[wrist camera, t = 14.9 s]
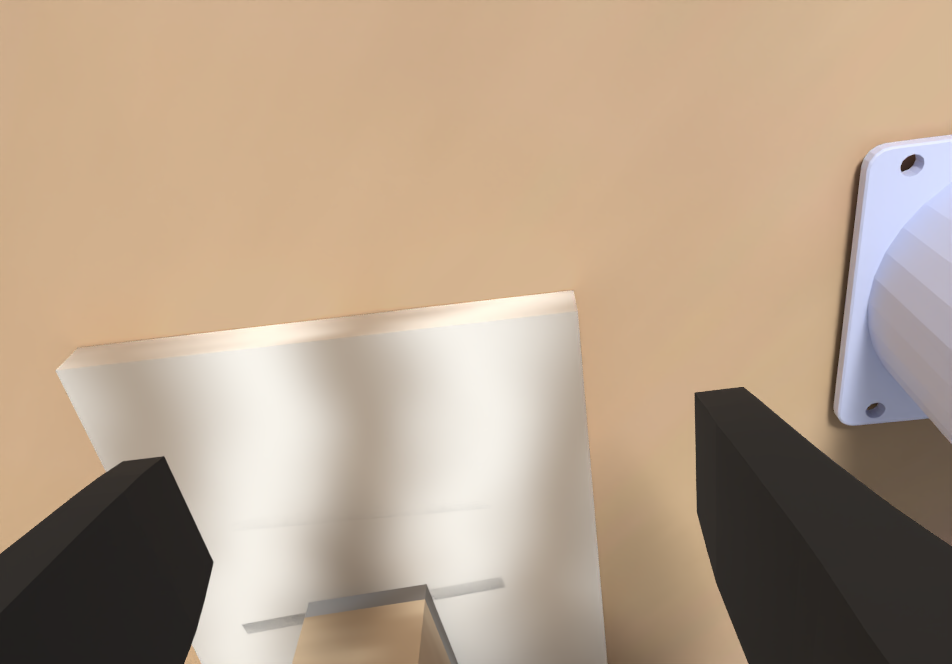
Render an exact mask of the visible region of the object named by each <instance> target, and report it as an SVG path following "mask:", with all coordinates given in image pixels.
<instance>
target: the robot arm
mask: <svg viewBox="0 0 952 664" xmlns="http://www.w3.org/2000/svg"><path fill="white" fill-rule="evenodd" d="M913 154H915V156H916V160H915V162H914V165H913V166H912V167H911V168H909V169H908V170H905V171H903V172H902V171H901V169H900V166H901V164H902V162H903V160H904V159H905V158H907V157H908V156H910V155H913ZM874 403H878V405H877V406H876V407H874V408H873V409H870V410H866V409H867V407H869V406H870V405H871V404H874ZM833 407H834V413H835V414H836V416H837V417H838V419H839V420H840V421H841V422H842V423H844V424H846V425H852V426H856V425H866V424H877V423H887V422H898V421H908V420H918V419H930V420H931V421H932V422H933V423H934V425H935V426H936V427H937V428H938V429H939V430H940V431H941V433H942V434H943V435H944V436H945V437H946V438H947V440H948V441H949V442H950V443H951V444H952V135H944V136H937V137H929V138H921V139H913V140H906V141H898V142H890V143H884V144H881V145H878V146H876V147H875V148H873V149H872V150H870V151H869V152H868V154H867V155H866V156H865V158H864V159H863V163H862V166H861V173H860V181H859V190H858V199H857V207H856V216H855V224H854V233H853V242H852V250H851V259H850V268H849V276H848V285H847V294H846V302H845V311H844V320H843V328H842V337H841V346H840V354H839V363H838V372H837V380H836V389H835V398H834V406H833ZM695 437H696V490H697V514H698V518H699V522H700V525H701V529H702V533H703V537H704V540H705V544H706V548H707V552H708V555H709V559H710V562H711V566H712V569H713V573H714V576H715V580H716V583H717V586H718V588H719V591H720V594H721V596H722V599H723V601H724V604H725V606H726V609H727V611H728V614H729V616H730V619H731V621H732V624H733V626H734V629H735V631H736V634H737V636H738V639H739V641H740V644H741V646H742V649H743V651H744V653H745V656H746V658H747V661H748V663H749V664H952V546H950V545H949V544H947V543H946V542H944V541H943V540H941V539H940V538H938V537H937V536H935V535H934V534H933V533H931V532H930V531H928V530H927V529H925V528H924V527H922V526H921V525H919V524H918V523H916V522H915V521H914V520H912V519H911V518H909V517H908V516H906V515H905V514H903V513H902V512H900V511H899V510H897V509H896V508H895V507H893V506H892V505H891V504H889V503H888V502H886V501H885V500H884V499H882V498H881V497H880V496H878V495H877V494H876V493H874V492H873V491H872V490H870V489H869V488H868V487H867V486H865V485H864V484H863V483H861V482H860V481H859V480H857V479H856V478H855V477H853V476H852V475H851V474H850V473H848V472H847V471H846V470H844V469H843V468H842V467H840V466H839V465H838V464H836V463H835V462H834V461H833V460H831V459H830V458H829V457H828V456H826V455H825V454H824V453H823V452H821V451H820V450H819V449H818V448H816V447H815V446H814V445H813V444H812V443H810V442H809V441H808V440H807V439H806V438H804V437H803V436H802V435H801V434H799V433H798V432H797V431H796V430H795V429H793V428H792V427H791V426H790V425H789V424H787V423H786V422H785V421H784V420H783V419H781V418H780V417H779V416H778V415H777V414H776V413H774V412H773V411H772V410H771V409H770V408H768V407H767V406H766V405H765V404H764V403H762V402H761V401H760V400H759V399H758V398H756V397H755V396H754V395H753V394H751V393H750V392H749V391H748V390H747V389H745V388H744V387H738V388H730V389H721V390H713V391H705V392H696V393H695ZM213 563H214V562H213V560H212V557H211V555H210V553H209V551H208V549H207V547H206V545H205V542H204V540H203V538H202V536H201V534H200V532H199V530H198V527H197V525H196V523H195V521H194V519H193V517H192V515H191V512H190V510H189V508H188V506H187V504H186V502H185V500H184V497H183V495H182V493H181V491H180V489H179V487H178V485H177V482H176V480H175V478H174V476H173V474H172V472H171V470H170V467H169V465H168V463H167V461H166V459H165V457H164V456H162V457H153V458H145V459H137V460H128V461H122V462H121V463H119V464H118V465H116V466H115V467H113V468H112V469H110V470H109V471H107V472H106V473H104V474H103V475H102V476H100V477H99V478H97V479H96V480H95V481H93V482H92V483H91V484H89V485H88V486H87V487H85V488H84V489H83V490H81V491H80V492H79V493H77V494H76V495H75V496H73V497H72V498H71V499H70V500H68V501H67V502H66V503H64V504H63V505H62V506H61V507H59V508H58V509H57V510H55V511H54V512H53V513H52V514H50V515H49V516H48V517H47V518H45V519H44V520H43V521H42V522H40V523H39V524H38V525H36V526H35V527H34V528H33V529H31V530H30V531H29V532H28V533H26V534H25V535H24V536H22V537H21V538H20V539H19V540H17V541H16V542H15V543H14V544H12V545H11V546H10V547H8V548H7V549H6V550H5V551H3V552H2V553H1V554H0V664H184V662H185V660H186V657H187V655H188V652H189V650H190V647H191V644H192V642H193V639H194V636H195V634H196V631H197V627H198V623H199V620H200V616H201V612H202V609H203V605H204V602H205V598H206V593H207V589H208V585H209V580H210V576H211V572H212V568H213Z"/></svg>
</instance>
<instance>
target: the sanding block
mask: <svg viewBox="0 0 952 664" xmlns="http://www.w3.org/2000/svg"><path fill="white" fill-rule="evenodd" d="M292 664H458V662H457V660H456V657H455V654H454V652H453V649H452V647H451V644H450V642H449V639H448V637H447V634H446V632H445V629H444V627H443V624H442V622H441V619H440V617H439V614H438V612H437V609H436V607H435V604H434V602H433V599H432V596H431V594H430V591H429V589H428V586H427V584H424V585H417V586H411V587H405V588H398V589H392V590H385V591H379V592H373V593H366V594H360V595H354V596H347V597H341V598H334V599H328V600H322V601H315V602H309V604H308V607H307V611H306V614H305V618H304V622H303V625H302V629H301V633H300V636H299V640H298V643H297V647H296V651H295V654H294V658H293V662H292Z"/></svg>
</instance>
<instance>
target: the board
mask: <svg viewBox="0 0 952 664" xmlns="http://www.w3.org/2000/svg"><path fill="white" fill-rule="evenodd" d="M56 372H57V374H58V376H59V378H60V380H61V382H62V384H63V386H64V388H65V390H66V392H67V394H68V396H69V398H70V400H71V402H72V404H73V406H74V408H75V410H76V412H77V415H78V417H79V419H80V421H81V423H82V425H83V427H84V429H85V431H86V433H87V435H88V437H89V439H90V441H91V443H92V445H93V447H94V449H95V451H96V453H97V455H98V457H99V459H100V461H101V463H102V465H103V467H104V469H105V471H106V472H107V471H109V470H110V469H112V468H113V467H115V466H116V465H118V464H119V463H121V462H122V461H128V460H137V459H145V458H153V457H162V456H164V457H165V459H166V461H167V463H168V465H169V467H170V470H171V472H172V474H173V476H174V478H175V480H176V482H177V485H178V487H179V489H180V491H181V493H182V495H183V497H184V500H185V502H186V504H187V506H188V508H189V510H190V512H191V515H192V517H193V519H194V521H195V523H196V525H197V527H198V530H199V532H200V534H201V536H202V538H203V540H204V542H205V545H206V547H207V549H208V551H209V553H210V555H211V557H212V560H213V562H214V563H213V568H212V572H211V576H210V580H209V585H208V589H207V593H206V598H205V602H204V605H203V609H202V612H201V616H200V620H199V623H198V627H197V631H196V634H195V636H194V639H193V642H192V646H193V648H194V650H195V652H196V654H197V656H198V658H199V660H200V662H201V664H292V662H293V658H294V654H295V651H296V647H297V643H298V640H299V636H300V633H301V629H302V625H303V622H304V618H305V614H306V611H307V607H308V604H309V602H315V601H322V600H328V599H334V598H341V597H347V596H354V595H360V594H366V593H373V592H379V591H385V590H392V589H398V588H405V587H411V586H417V585H424V584H427V586H428V589H429V591H430V594H431V596H432V599H433V602H434V604H435V607H436V609H437V612H438V614H439V617H440V619H441V622H442V624H443V627H444V629H445V632H446V634H447V637H448V639H449V642H450V644H451V647H452V649H453V652H454V654H455V657H456V660H457V662H458V664H607V653H606V641H605V629H604V617H603V605H602V594H601V582H600V570H599V558H598V546H597V534H596V523H595V511H594V499H593V487H592V475H591V463H590V451H589V440H588V428H587V416H586V404H585V392H584V380H583V369H582V357H581V345H580V333H579V321H578V310H577V306H576V301H575V296H574V291H573V290H571V291H562V292H554V293H545V294H536V295H528V296H519V297H510V298H502V299H493V300H485V301H476V302H467V303H459V304H450V305H442V306H433V307H424V308H416V309H407V310H398V311H390V312H381V313H373V314H364V315H355V316H347V317H338V318H330V319H321V320H312V321H304V322H295V323H286V324H278V325H269V326H261V327H252V328H243V329H235V330H226V331H218V332H209V333H200V334H192V335H183V336H175V337H166V338H157V339H149V340H140V341H131V342H123V343H114V344H106V345H97V346H88V347H80V348H77V349H76V350H75V351H74V352H73V353H72V354H71V355H70V356H69V357H68V358H67V359H66V360H65V361H64V362H63V363H62V364H61V365H60V366H59V367H58V368H57V369H56Z"/></svg>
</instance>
